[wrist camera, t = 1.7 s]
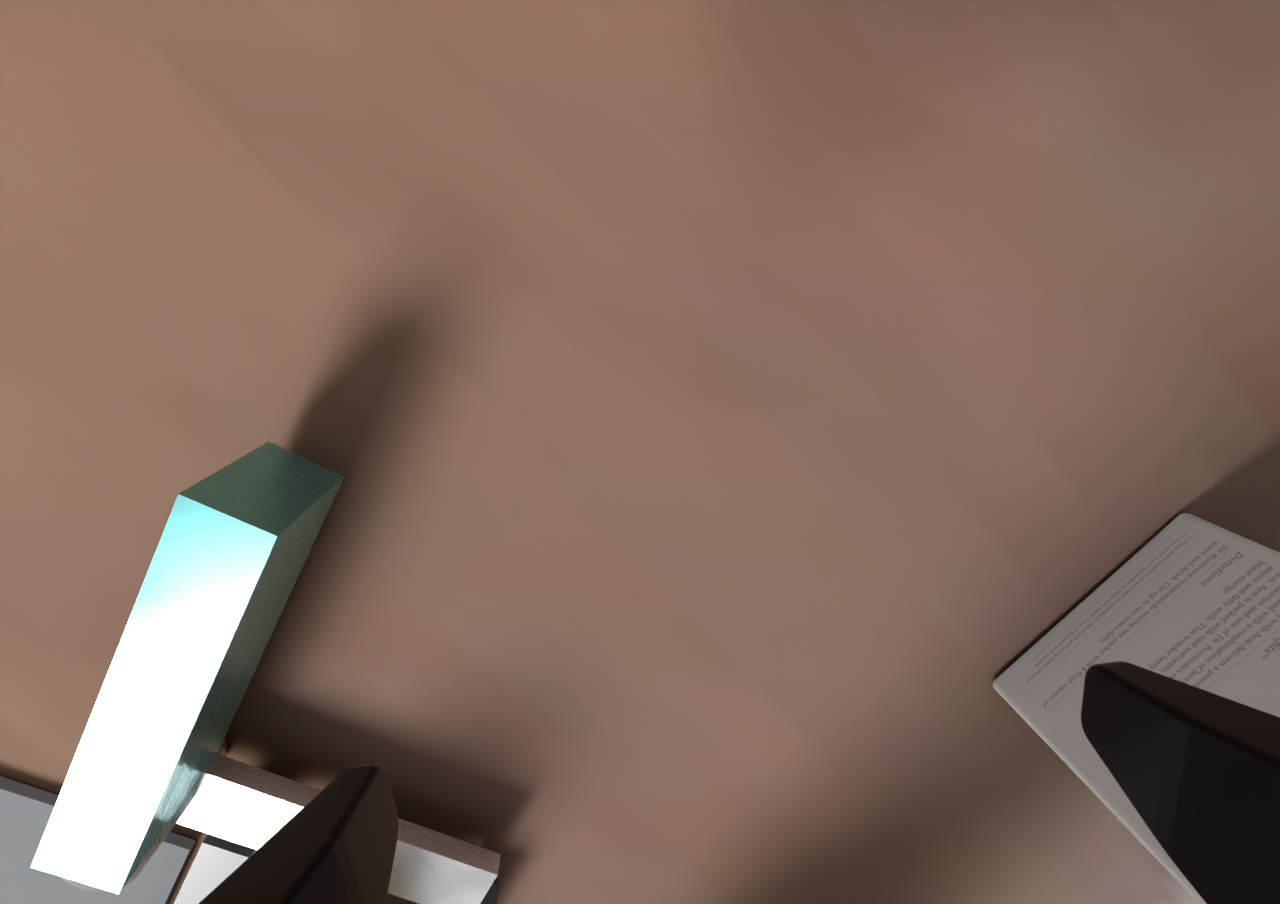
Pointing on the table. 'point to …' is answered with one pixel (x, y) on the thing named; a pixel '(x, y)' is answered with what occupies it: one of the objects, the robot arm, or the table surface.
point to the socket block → (227, 856)
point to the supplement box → (1158, 645)
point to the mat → (36, 900)
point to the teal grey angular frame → (214, 695)
